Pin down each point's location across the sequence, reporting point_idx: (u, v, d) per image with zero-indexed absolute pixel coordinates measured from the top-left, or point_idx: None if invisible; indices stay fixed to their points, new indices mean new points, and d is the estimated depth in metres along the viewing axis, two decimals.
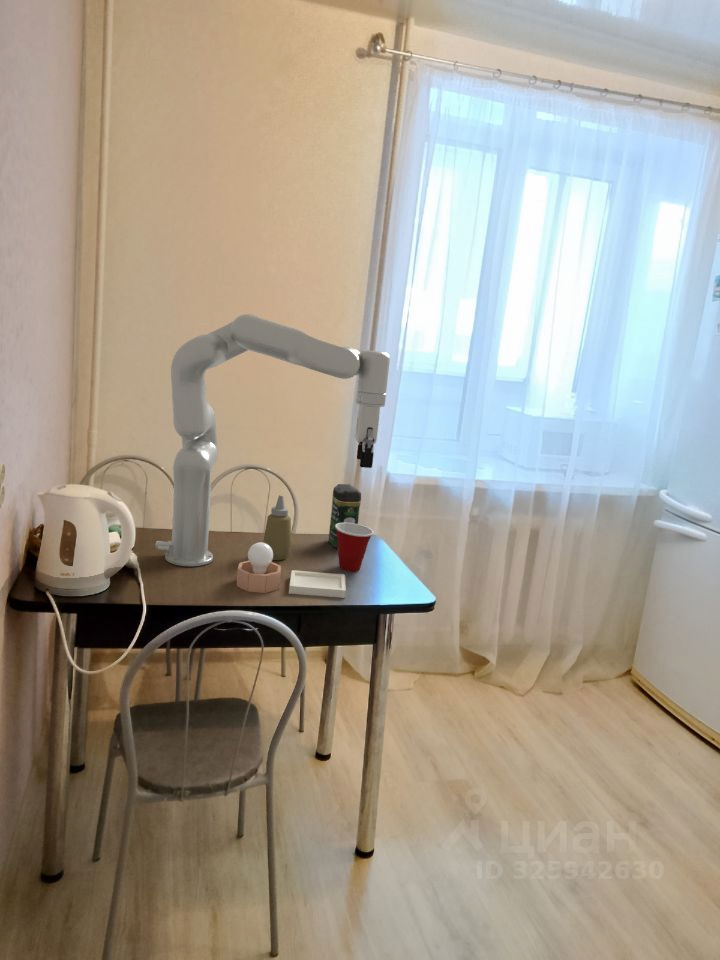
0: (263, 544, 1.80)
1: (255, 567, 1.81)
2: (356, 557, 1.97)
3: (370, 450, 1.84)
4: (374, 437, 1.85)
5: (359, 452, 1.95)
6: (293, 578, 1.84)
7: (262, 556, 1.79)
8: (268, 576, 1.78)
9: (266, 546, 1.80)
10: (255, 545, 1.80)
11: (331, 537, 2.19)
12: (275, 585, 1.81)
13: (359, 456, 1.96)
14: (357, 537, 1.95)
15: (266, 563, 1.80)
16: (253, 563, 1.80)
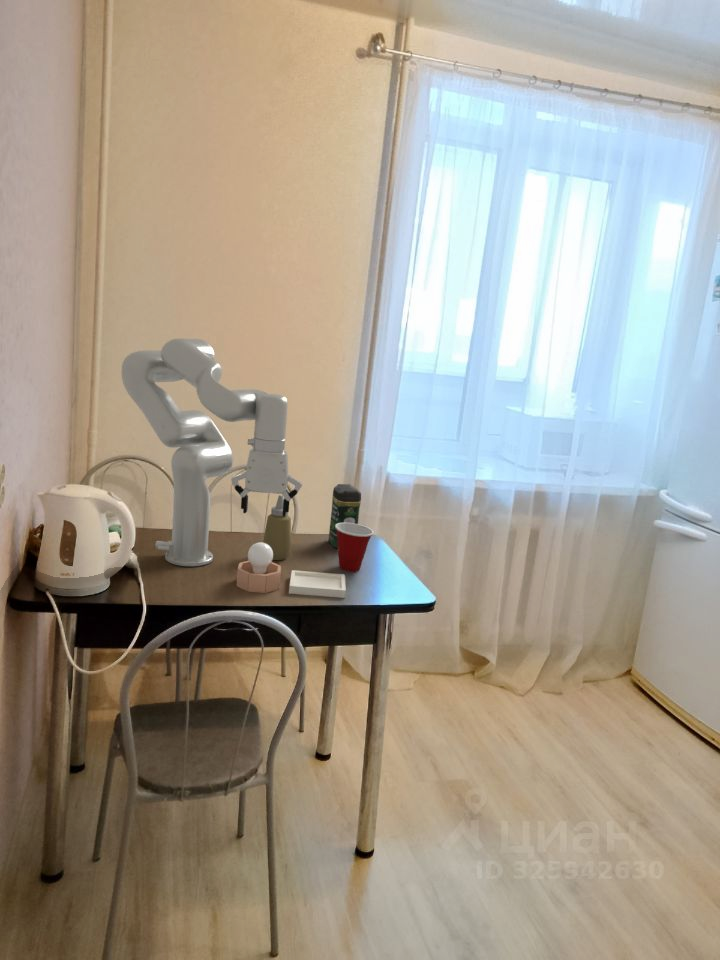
0: (263, 544, 1.80)
1: (255, 567, 1.81)
2: (356, 557, 1.97)
3: None
4: None
5: (246, 505, 1.77)
6: (293, 578, 1.84)
7: (262, 556, 1.79)
8: (268, 576, 1.78)
9: (266, 546, 1.80)
10: (255, 545, 1.80)
11: (331, 537, 2.19)
12: (275, 585, 1.81)
13: (246, 509, 1.78)
14: (357, 537, 1.95)
15: (266, 563, 1.80)
16: (253, 563, 1.80)
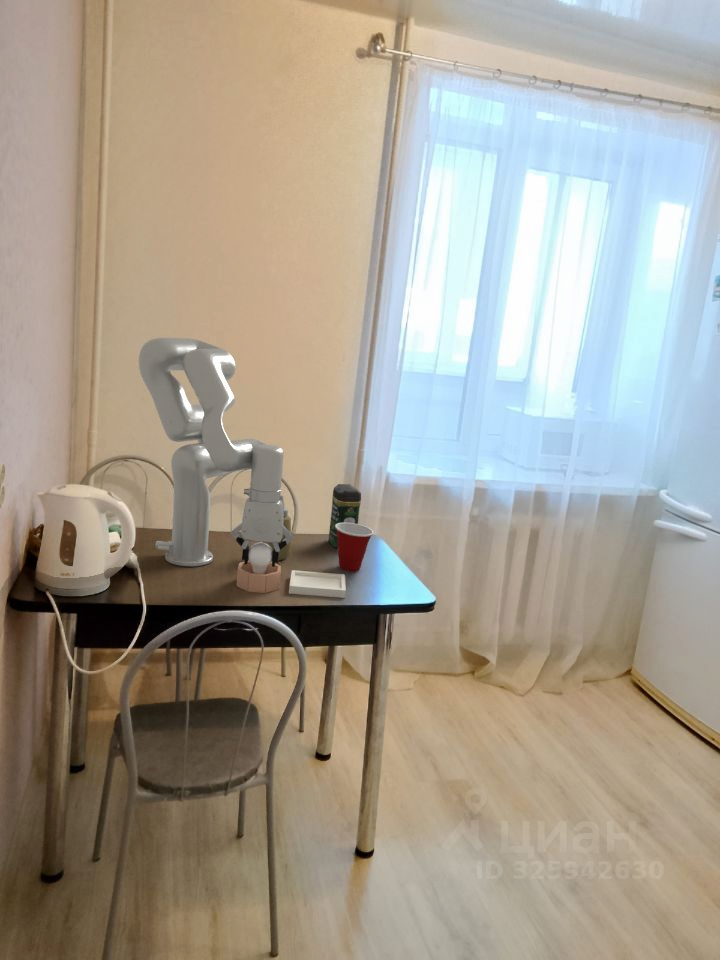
0: (263, 544, 1.80)
1: (254, 567, 1.81)
2: (356, 557, 1.97)
3: None
4: None
5: (247, 557, 1.81)
6: (293, 578, 1.84)
7: (262, 556, 1.79)
8: (268, 576, 1.78)
9: (266, 546, 1.80)
10: (255, 545, 1.80)
11: (331, 537, 2.19)
12: (275, 585, 1.81)
13: (247, 561, 1.81)
14: (357, 537, 1.95)
15: (266, 563, 1.80)
16: (253, 563, 1.80)
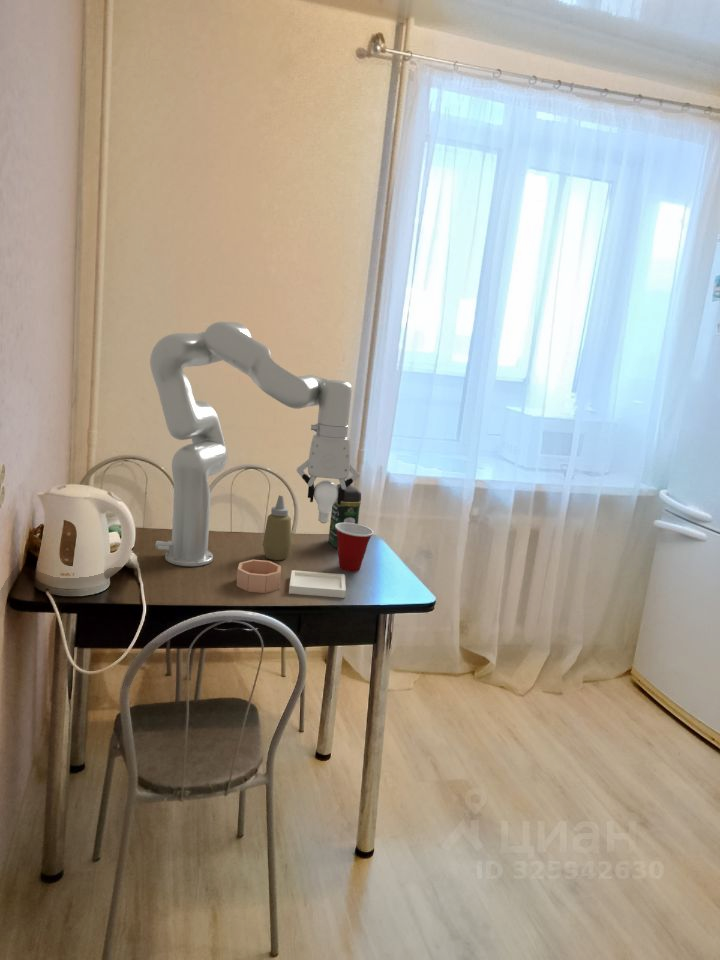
0: (329, 482, 1.78)
1: (320, 505, 1.79)
2: (356, 557, 1.97)
3: None
4: None
5: (313, 494, 1.79)
6: (293, 578, 1.84)
7: (329, 493, 1.77)
8: (268, 576, 1.78)
9: (332, 483, 1.78)
10: (321, 482, 1.78)
11: (331, 537, 2.19)
12: (275, 585, 1.81)
13: None
14: (357, 537, 1.95)
15: (332, 501, 1.78)
16: (319, 500, 1.78)
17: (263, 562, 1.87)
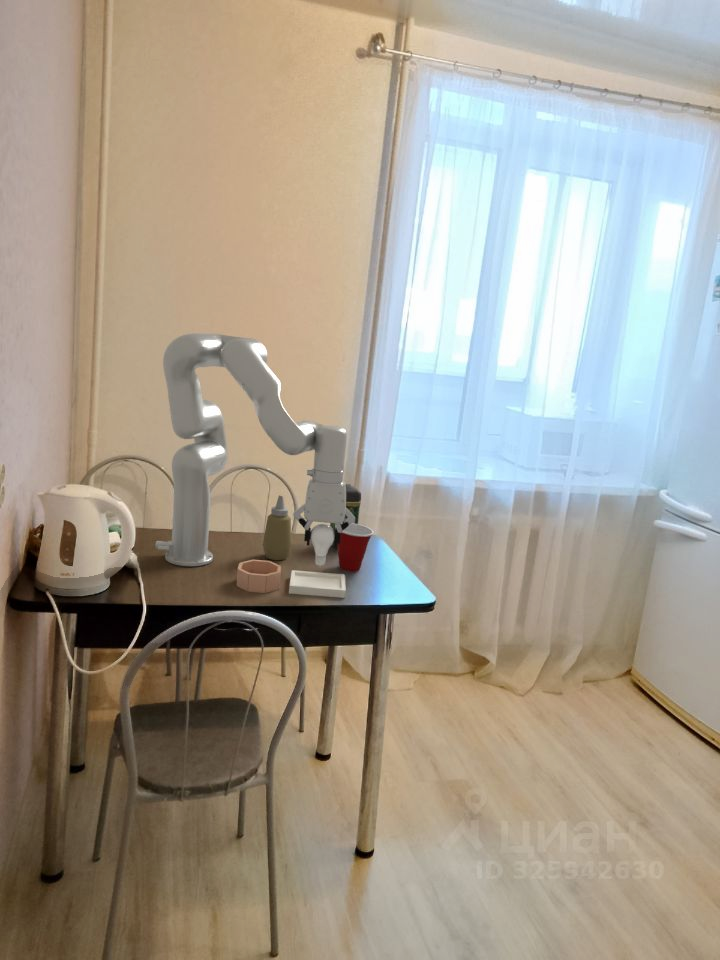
0: (325, 525, 1.81)
1: (317, 548, 1.81)
2: (356, 557, 1.97)
3: None
4: None
5: None
6: (293, 578, 1.84)
7: (325, 537, 1.79)
8: (268, 576, 1.78)
9: (328, 527, 1.81)
10: (317, 526, 1.81)
11: None
12: (275, 585, 1.81)
13: (309, 542, 1.82)
14: (357, 537, 1.95)
15: (328, 544, 1.81)
16: (316, 544, 1.80)
17: (263, 562, 1.87)
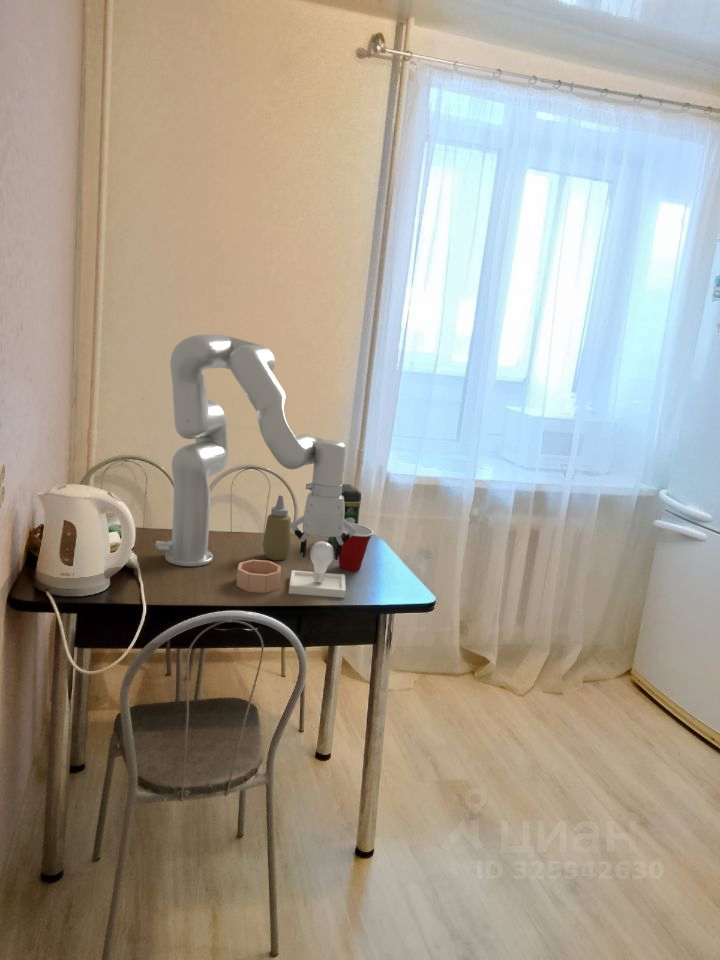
0: (326, 543, 1.82)
1: (316, 566, 1.83)
2: (356, 557, 1.97)
3: None
4: None
5: (305, 549, 1.82)
6: (293, 578, 1.84)
7: (325, 555, 1.81)
8: (268, 576, 1.78)
9: (329, 545, 1.82)
10: (318, 544, 1.82)
11: (331, 537, 2.19)
12: (275, 585, 1.81)
13: (305, 553, 1.82)
14: (357, 537, 1.95)
15: (328, 562, 1.82)
16: (315, 561, 1.82)
17: (263, 562, 1.87)
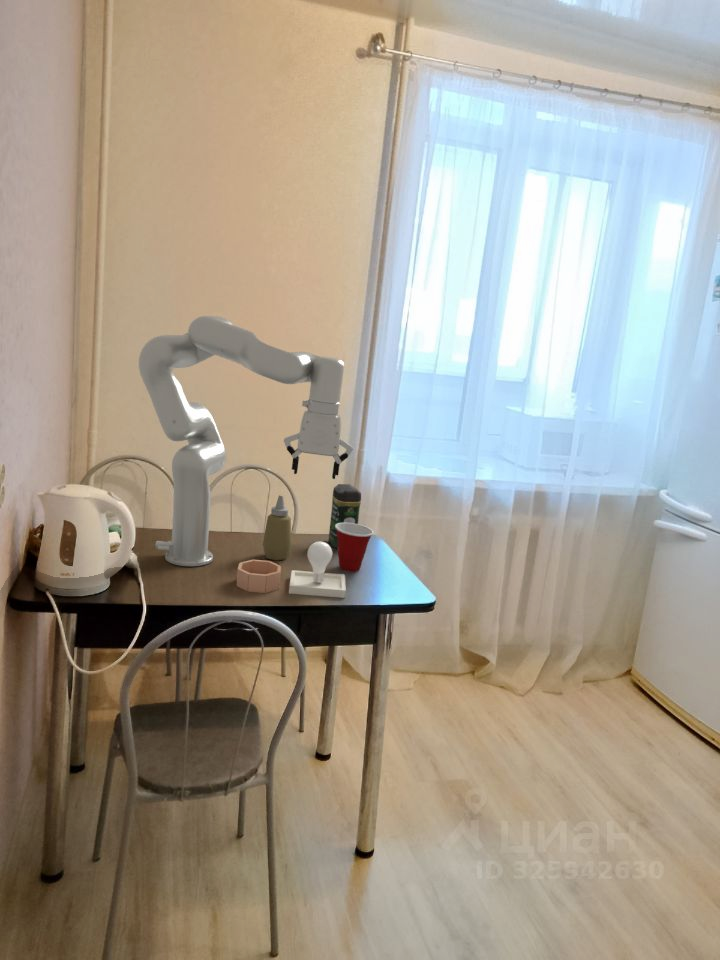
0: (322, 543, 1.82)
1: (315, 566, 1.83)
2: (356, 557, 1.97)
3: None
4: None
5: (297, 466, 1.80)
6: (293, 578, 1.84)
7: (322, 555, 1.80)
8: (268, 576, 1.78)
9: (325, 545, 1.82)
10: (315, 544, 1.82)
11: (331, 537, 2.19)
12: (275, 585, 1.81)
13: None
14: (357, 537, 1.95)
15: (326, 562, 1.82)
16: (313, 562, 1.81)
17: (263, 562, 1.87)
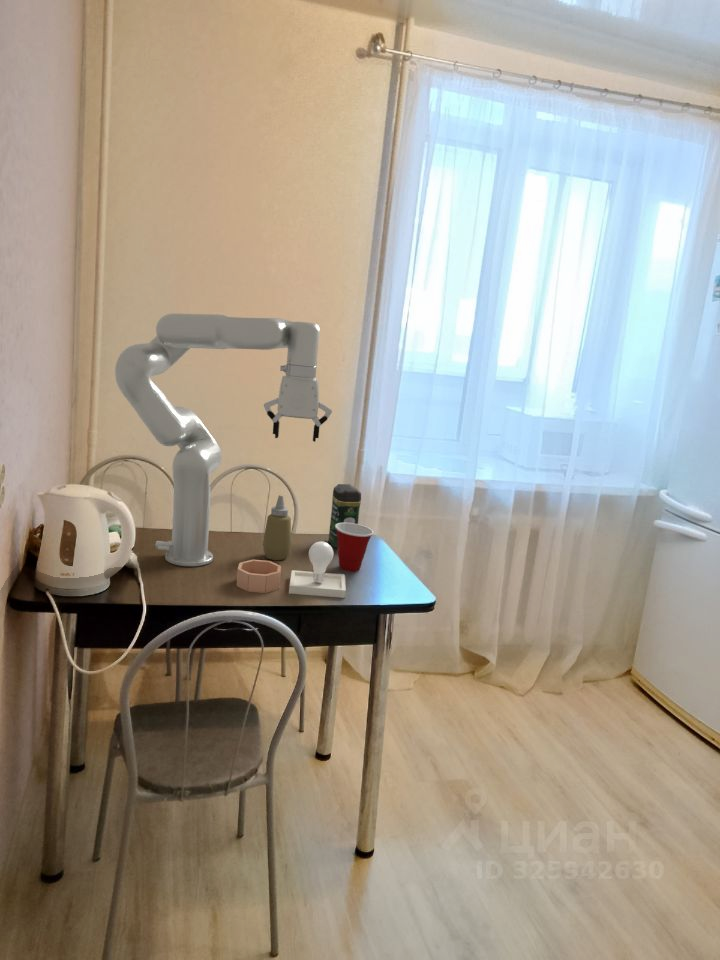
0: (324, 543, 1.82)
1: (315, 566, 1.83)
2: (356, 557, 1.97)
3: None
4: None
5: (278, 430, 1.84)
6: (293, 578, 1.84)
7: (324, 555, 1.81)
8: (268, 576, 1.78)
9: (327, 545, 1.82)
10: (316, 544, 1.82)
11: (331, 537, 2.19)
12: (275, 585, 1.81)
13: (278, 434, 1.84)
14: (357, 537, 1.95)
15: (327, 562, 1.82)
16: (314, 562, 1.82)
17: (263, 562, 1.87)
